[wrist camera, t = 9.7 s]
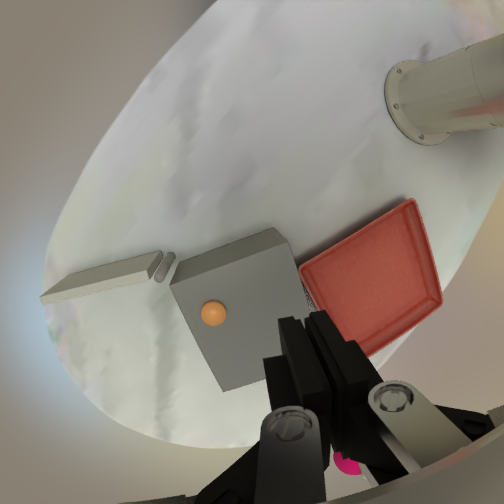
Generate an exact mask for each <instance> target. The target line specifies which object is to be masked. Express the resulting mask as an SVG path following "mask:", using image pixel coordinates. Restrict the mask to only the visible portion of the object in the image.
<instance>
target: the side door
mask: <svg viewBox="0 0 504 504" xmlns="http://www.w3.org/2000/svg"><path fill="white" fill-rule="evenodd" d="M162 259H163V257H162V253H161V251H157V252H153V253H149V254H146V255H142V256H138V257H134V258H130V259H126V260H123V261H119V262H115V263H111V264H108V265H104V266H100V267H96V268H93V269H89V270H85V271H82V272H78V273H74V274H71V275H68V276H66V277H65V278H64V279H62V280H61V281H60V282H58V283H57V284H56V285H54V286H53V287H52V288H51V289H49V290H48V291H47V292H45V293H44V294H43V295H42V296H40V299H41V302H42V304H43V305H46V304H51V303H55V302H59V301H63V300H68V299H72V298H76V297H80V296H84V295H89V294H93V293H97V292H101V291H105V290H110V289H114V288H118V287H122V286H126V285H131V284H135V283H139V282H143V281H147V280H150V278H151V277H152V275H153V274H154V272H155V270H156V269H157V267H158V266H159V264H160V263H161V261H162ZM174 259H175V255H174V253H171V252H170V253H168V254H167V256H166V257H165V259H164V261H163V262H162V264H161V265H160V267H159V269H158V270H157V272H156V274H155V275H154V279H155V281H156V282H158V283H161V282H163V281H164V279H165V277H166V275H167V273H168V271H169V269H170V267H171V265H172V263H173V261H174Z"/></svg>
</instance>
